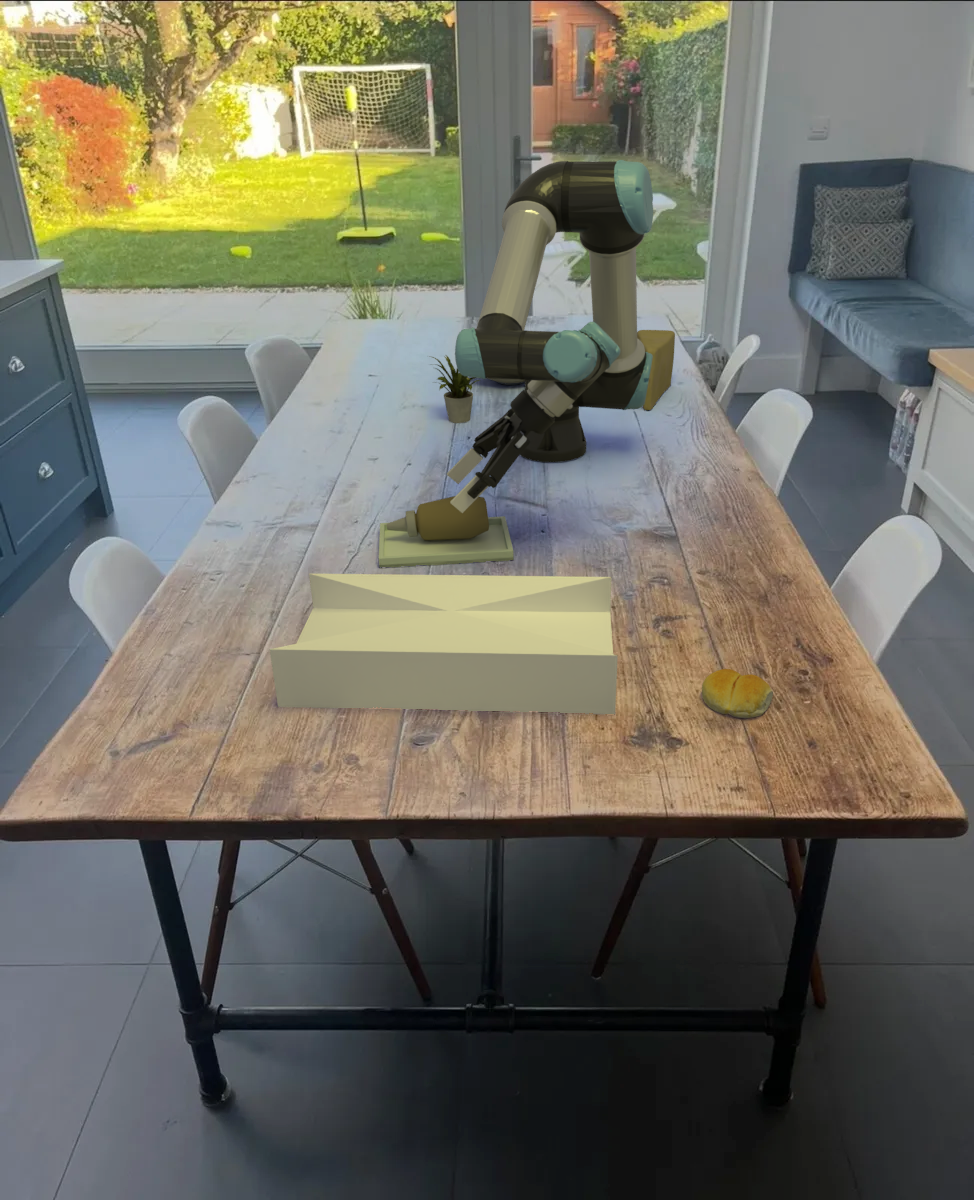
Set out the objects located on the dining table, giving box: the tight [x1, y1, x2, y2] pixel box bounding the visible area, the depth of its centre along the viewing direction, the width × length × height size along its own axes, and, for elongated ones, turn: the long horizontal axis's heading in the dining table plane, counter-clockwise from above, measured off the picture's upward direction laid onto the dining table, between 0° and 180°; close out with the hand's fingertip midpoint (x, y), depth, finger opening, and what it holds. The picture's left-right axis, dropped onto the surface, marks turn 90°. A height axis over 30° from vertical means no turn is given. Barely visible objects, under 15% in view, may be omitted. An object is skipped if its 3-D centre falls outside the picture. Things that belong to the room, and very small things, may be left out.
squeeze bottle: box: [386, 495, 489, 540], centre depth 177 cm, size 8×8×18 cm
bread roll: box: [701, 668, 774, 719], centre depth 132 cm, size 8×9×4 cm
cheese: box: [637, 329, 676, 411], centre depth 248 cm, size 22×10×15 cm, turn 168°
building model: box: [268, 573, 619, 715], centre depth 140 cm, size 45×22×10 cm, turn 86°
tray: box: [378, 515, 515, 568], centre depth 177 cm, size 23×15×2 cm, turn 95°
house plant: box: [428, 354, 482, 424], centre depth 236 cm, size 14×14×16 cm
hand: (454, 492), depth 173 cm, fingers open, 12 cm apart
